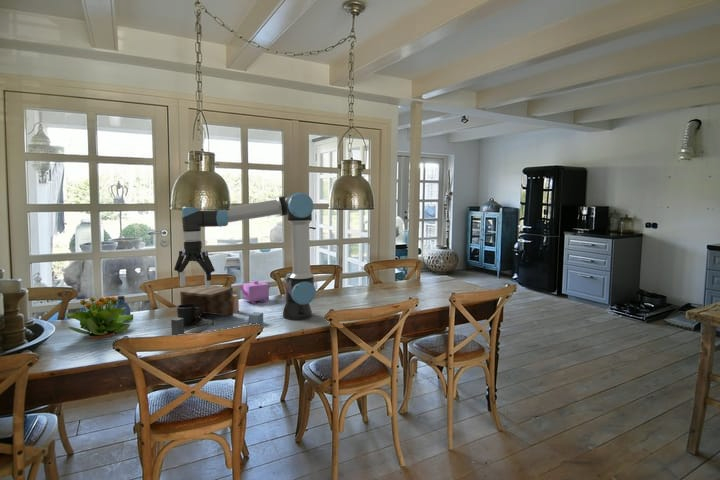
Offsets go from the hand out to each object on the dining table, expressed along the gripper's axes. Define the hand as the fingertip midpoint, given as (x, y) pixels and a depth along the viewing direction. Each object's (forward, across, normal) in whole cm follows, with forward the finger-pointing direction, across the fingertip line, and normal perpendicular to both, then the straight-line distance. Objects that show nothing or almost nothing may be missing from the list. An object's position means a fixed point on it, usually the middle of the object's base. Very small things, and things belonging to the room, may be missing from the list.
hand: (195, 286), depth 191 cm
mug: (+22, +10, -7) cm, 25 cm away
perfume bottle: (+21, +48, -3) cm, 53 cm away
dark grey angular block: (+21, +6, 0) cm, 22 cm away
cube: (+22, -18, -21) cm, 35 cm away
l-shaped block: (+22, +11, -35) cm, 43 cm away
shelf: (+21, +10, -20) cm, 31 cm away
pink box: (+22, +6, -57) cm, 62 cm away
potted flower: (+21, +37, +19) cm, 46 cm away
